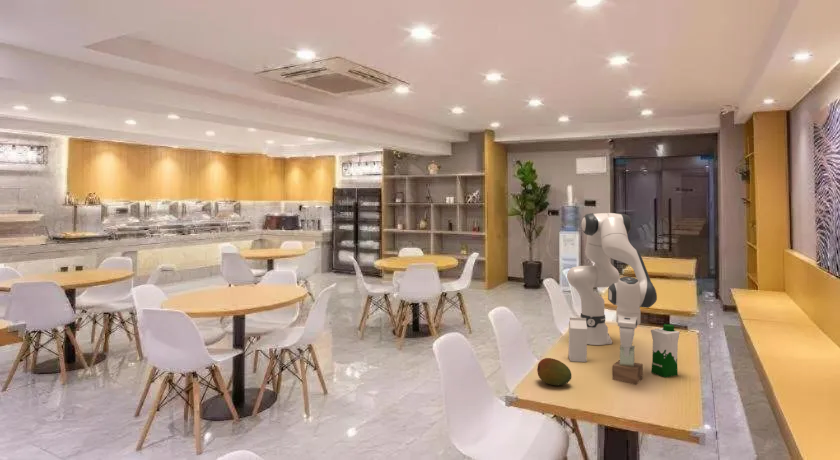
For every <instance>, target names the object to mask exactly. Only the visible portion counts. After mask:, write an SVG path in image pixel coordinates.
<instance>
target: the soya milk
mask: <svg viewBox="0 0 840 460" xmlns="http://www.w3.org/2000/svg"><path fill="white" fill-rule="evenodd" d="M650 334H651V338H652V357H651V358H652V361H651V368H650V369H651V371H650V372H651V373H652V374H654V375H657V376H659V377H663V378H669V377H676V376H678V375H679V374H678V373H679V372H678V350H679V349H678V347H679V346H678V343H679V338H680V334H681V333H680V331H677V330H675V325H674V324H671V323H670V324H669V323H664V324H663V327H659V328H654V329H650Z"/></svg>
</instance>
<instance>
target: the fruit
mask: <svg viewBox="0 0 840 460" xmlns="http://www.w3.org/2000/svg"><path fill="white" fill-rule="evenodd" d="M536 371H537V372H536V373H537V375H538V378H539V379H540V380H541V381H542V382H543V383H546V384H547V385H552V386H563V385H566V384H568V383H569V382H570V381H571V380H572V372H571V370H570V367H568V365H566V364H565V363H564V362H562V361H560V360H558V359H556V358H551V357H544V358H542V359H541V360H540V361H539V362H538V364H537V369H536Z"/></svg>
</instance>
